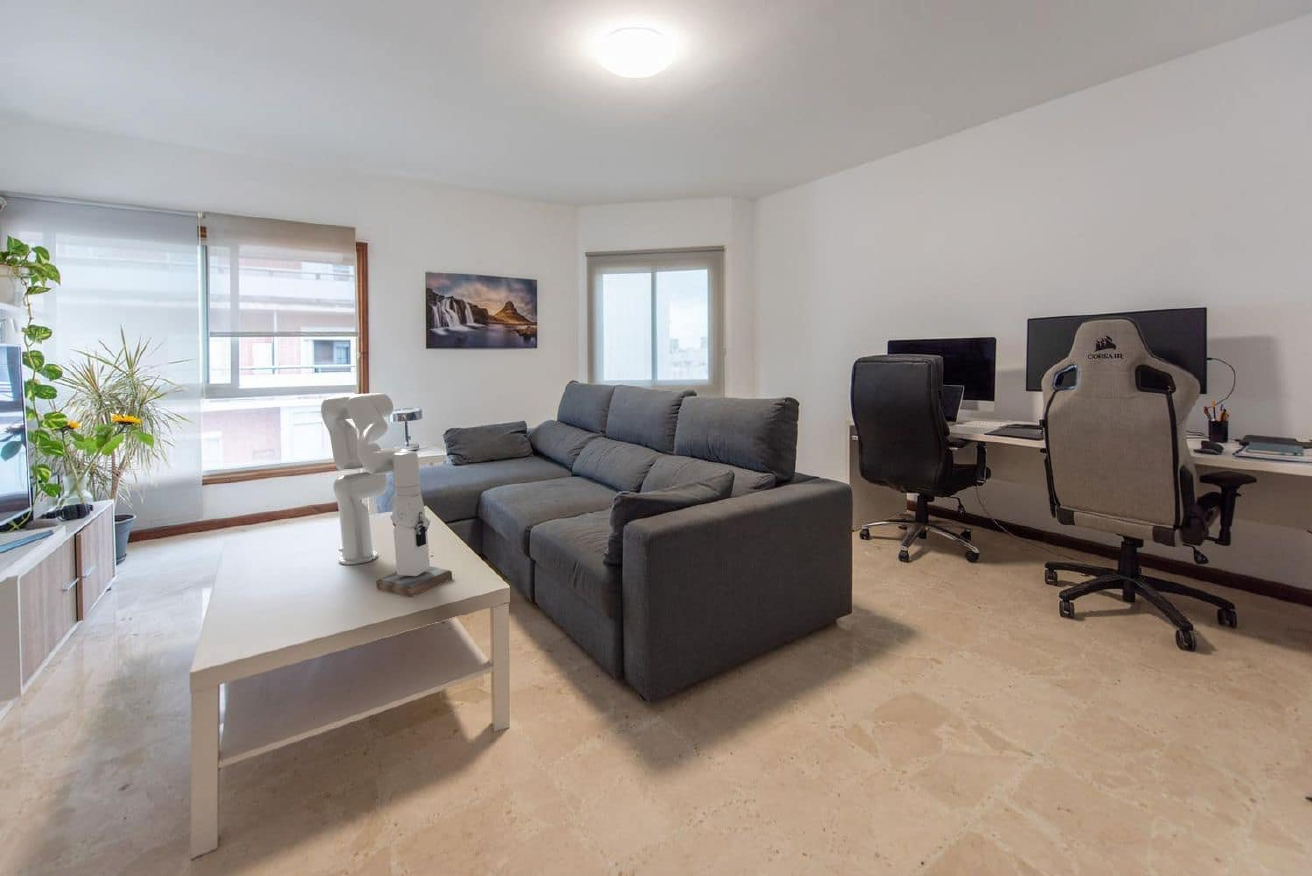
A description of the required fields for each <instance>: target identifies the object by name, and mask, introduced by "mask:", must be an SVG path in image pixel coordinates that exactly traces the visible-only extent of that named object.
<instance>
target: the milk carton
mask: <svg viewBox="0 0 1312 876" xmlns="http://www.w3.org/2000/svg"><path fill="white" fill-rule="evenodd" d="M393 527H394V528H393V542H394V552H395V553H394V554H395V566H396V567H395V568H396V572H397V575H408V576H418V575H419V574H421V573H423V572H424V571H426V570H427V569H429V568H430V567H431V566H430V564H431V563H430V554H429V553H430V552H429V550H430V549H429V538H428V531H427V532H425V533H426V544H425V545H422V546H419V547H418V546H417V542H416V534H417V532H416V529H415V527H414V528H408V527H404V526H400V525H398V524H396V526H393ZM419 529H421V527H420V526H419Z"/></svg>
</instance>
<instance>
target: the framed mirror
mask: <svg viewBox="0 0 1312 876" xmlns="http://www.w3.org/2000/svg"><path fill="white" fill-rule="evenodd" d="M447 580H448V581H450V580H453V572H452V570H450V569H445V568H439V567H434V566H430V568H429V569H427V570H426V571H424V572H423V573H421V574H419V575H418V576H408V575H397V571H395V572H393V573H390V574H388V575H386V576H383V577H380V578H378V580H376V581H375V583H376V589H377V588H378V589H377V590H381V591H386V592H391V593H395V594H399V595H402V594H403V596H406V595H407V596H406V597H411V598H413V597H415V596H418V595H419V594H422V593H424V592H426V591H429V590H430V588H431V589H433V588H435V587H437V586H439V584H440V585H442V584H444V583H446V582H448V581H447ZM445 581H446V582H445ZM443 582H444V583H443ZM441 583H442V584H441ZM432 587H433V588H432ZM414 595H415V596H414ZM412 596H413V597H412Z"/></svg>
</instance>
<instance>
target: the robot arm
mask: <svg viewBox="0 0 1312 876" xmlns="http://www.w3.org/2000/svg"><path fill="white" fill-rule="evenodd" d="M393 403H394V402H393V401H392V399H391V397H390V396H389V395H387V394H386V393H382V392H380V393H378V392H377V393H374V392H373V393H359V394H343V395H341V394H340V395H334V396H333V395H332V396H330V397H326V398H325V399H324V400H322V403H321V406H320V413H321V414H320V415H321V417H322V420H323V422H324V425H325V427H326V429H327V431H328V433H329V439H330V444H331V445H330V446H331V450H332V455H333V456H332V457H333V462H334V465H335V468H336V469H337V470H339V471H343V472H345V471H347V472H348V471H353V470H361V469H364V470H365V471H362V472H355V473H348V474H345V475H344V474H343V475H340V476H339V477H337V478H336V479H335V481H333V491H334V492H333V493H334V495H335V499H336V501H337V509H338V516H339V525H340V535H341V544H342V547H339V549H338V551H339V552H341V553H342V555H341V556H340V557H339V558H338V562H339V563H340V564H342V565H348V566H349V565H359V564H360V565H361V564H363V563H367V562H371V561H373V560H375V559H377V558H378V556H379V555H378V552H377V551H376V550H373V540H372V532H371V530H372V529H371V520H370V519H371V518H370V511H369V508H368V506H366V505H365V504H364V503H363V502H362V501H361V500H364V499H368V498H372V497H378V496H382V495H384V494H385V492H387V489H388V479H387V474H393V475H392V477H393V486H394V488H393V489H394V494H393V498H392V507H391V510H392V514H391V515H390V517H389V518H390V520H391V522H392V525H393V527H395V526H396V524H398V525H400V526H404V527H408V528H414V527H415V529H416V532H417V534H416V542H417V546H418V547H419V546H422V545H425V544H426V533H425V532H427V533H428V529H429V526H430V524H431V520H430V519H428V518H427V517H426V514H425V513H426V511H425V503H424V498H423V496H422V494H421V493H422V492H421V480H420V479H421V478H420V466H419V456H418V453H417V452H416V451H412V450H408V449H407V448H404V447H398V448H389V449H381V447H380V445H379V444H378V443H377V442H376V441H378V440H380V439H381V438H382V437H383V436H385V434H386V433H387V431H388V428H389V427H388V423H387V421H386V420H385V419H384V418H387V417H390V416H391V415H392V414H393V411H394V404H393ZM348 420H352V421H353V423H354V425H355V426H356V428H357V429H358V431H359V433H360V435H359V437H358V433H357V430H356V428H355V427H354V426H353V424H352V423H351V422H350V421H348ZM419 526H420V527H421V529H419ZM372 559H373V560H372Z"/></svg>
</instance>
